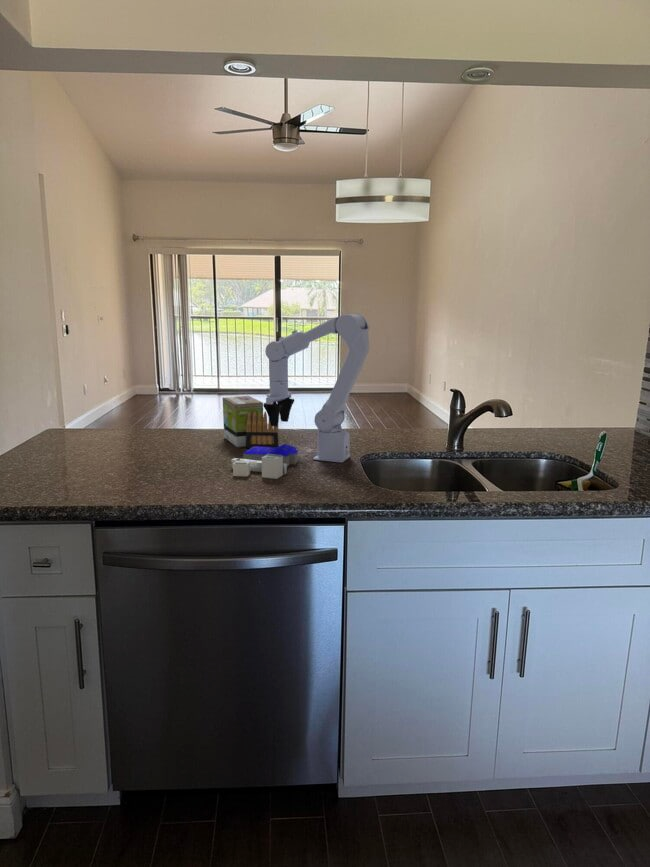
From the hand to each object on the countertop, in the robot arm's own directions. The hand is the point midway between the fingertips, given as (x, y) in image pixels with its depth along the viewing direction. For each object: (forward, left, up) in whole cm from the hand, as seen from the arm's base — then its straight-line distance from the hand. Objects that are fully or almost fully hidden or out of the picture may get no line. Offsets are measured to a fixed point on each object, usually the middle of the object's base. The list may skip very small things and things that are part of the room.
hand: (279, 423), depth 183 cm
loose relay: (-1, +26, -10) cm, 28 cm away
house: (-3, +11, -10) cm, 15 cm away
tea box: (+18, -10, -10) cm, 23 cm away
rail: (-3, +21, -9) cm, 24 cm away
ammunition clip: (+8, -3, -9) cm, 12 cm away
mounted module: (-9, +24, -9) cm, 28 cm away
